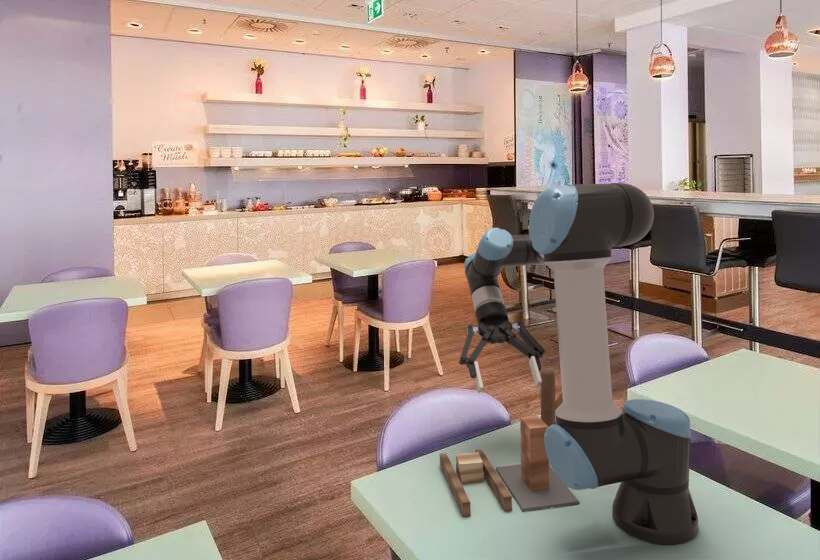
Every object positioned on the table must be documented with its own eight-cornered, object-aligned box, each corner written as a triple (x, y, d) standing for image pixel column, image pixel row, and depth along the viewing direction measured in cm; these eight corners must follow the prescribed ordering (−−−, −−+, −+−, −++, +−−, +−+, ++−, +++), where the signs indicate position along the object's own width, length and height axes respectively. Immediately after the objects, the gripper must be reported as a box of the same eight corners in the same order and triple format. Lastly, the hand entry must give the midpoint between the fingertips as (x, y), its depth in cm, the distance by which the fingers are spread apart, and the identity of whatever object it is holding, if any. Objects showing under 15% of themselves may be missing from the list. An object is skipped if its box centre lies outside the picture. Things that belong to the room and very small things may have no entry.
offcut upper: (483, 472, 130) (482, 462, 129) (459, 474, 130) (459, 464, 129) (478, 462, 135) (478, 452, 134) (456, 464, 134) (455, 454, 134)
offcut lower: (484, 482, 131) (483, 472, 130) (461, 485, 130) (460, 474, 130) (478, 472, 135) (478, 461, 135) (456, 474, 135) (456, 464, 134)
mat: (579, 504, 120) (579, 501, 120) (522, 511, 118) (522, 508, 118) (545, 463, 137) (545, 461, 137) (495, 469, 135) (495, 467, 135)
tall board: (548, 488, 125) (548, 426, 123) (530, 491, 124) (530, 428, 122) (538, 475, 131) (537, 415, 129) (521, 477, 130) (520, 417, 128)
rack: (512, 510, 119) (511, 496, 118) (462, 516, 117) (462, 502, 117) (481, 460, 140) (481, 449, 140) (440, 465, 139) (439, 453, 138)
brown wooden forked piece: (580, 435, 152) (581, 368, 149) (546, 443, 148) (545, 375, 145) (571, 429, 155) (571, 364, 152) (537, 438, 151) (536, 370, 148)
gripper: (534, 313, 150) (558, 389, 137) (438, 320, 146) (453, 399, 134) (542, 296, 144) (567, 374, 131) (441, 304, 140) (458, 384, 128)
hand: (510, 387), depth 133 cm, fingers open, 13 cm apart
